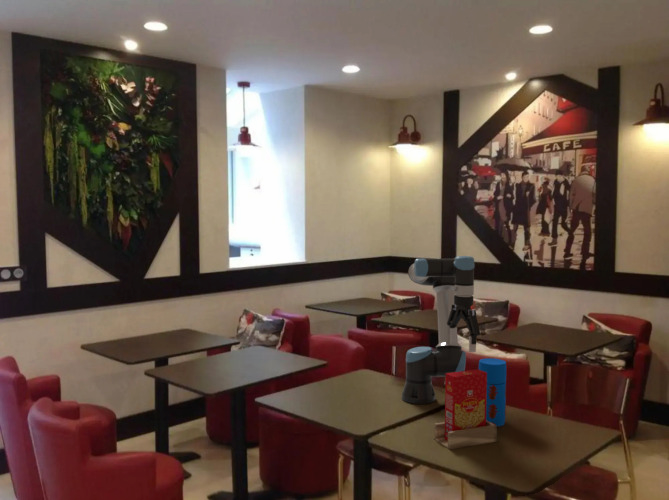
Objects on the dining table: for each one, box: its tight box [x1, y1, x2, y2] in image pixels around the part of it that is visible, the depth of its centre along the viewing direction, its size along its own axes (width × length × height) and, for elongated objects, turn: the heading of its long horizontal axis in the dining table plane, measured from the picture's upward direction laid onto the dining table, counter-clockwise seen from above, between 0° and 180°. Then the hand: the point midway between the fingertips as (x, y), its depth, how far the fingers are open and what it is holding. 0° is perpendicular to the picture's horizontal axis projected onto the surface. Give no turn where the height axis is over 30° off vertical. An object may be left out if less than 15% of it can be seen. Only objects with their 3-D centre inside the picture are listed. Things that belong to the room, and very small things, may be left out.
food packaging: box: [444, 368, 487, 441], centre depth 227 cm, size 15×5×25 cm, turn 114°
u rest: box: [433, 420, 498, 450], centre depth 227 cm, size 10×20×6 cm, turn 111°
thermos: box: [478, 357, 507, 427], centre depth 246 cm, size 11×11×25 cm
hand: (462, 347), depth 243 cm, fingers open, 13 cm apart
